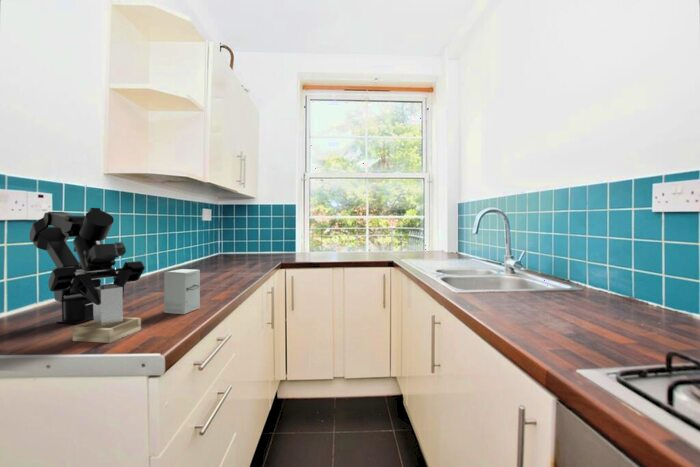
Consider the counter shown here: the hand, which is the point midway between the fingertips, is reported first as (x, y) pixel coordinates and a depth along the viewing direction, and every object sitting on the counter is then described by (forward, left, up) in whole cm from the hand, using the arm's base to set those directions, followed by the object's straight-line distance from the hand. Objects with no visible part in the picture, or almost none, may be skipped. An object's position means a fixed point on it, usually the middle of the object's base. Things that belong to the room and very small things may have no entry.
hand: (110, 301), depth 80 cm
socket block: (-1, +1, -7) cm, 7 cm away
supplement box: (+3, +24, -8) cm, 25 cm away
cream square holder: (-1, +1, -8) cm, 8 cm away
